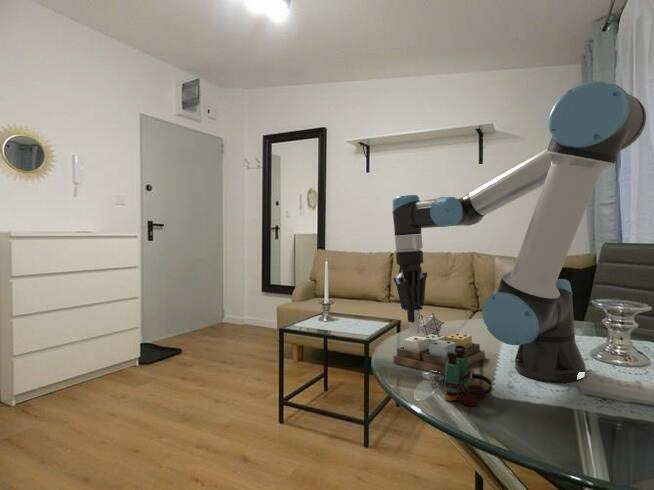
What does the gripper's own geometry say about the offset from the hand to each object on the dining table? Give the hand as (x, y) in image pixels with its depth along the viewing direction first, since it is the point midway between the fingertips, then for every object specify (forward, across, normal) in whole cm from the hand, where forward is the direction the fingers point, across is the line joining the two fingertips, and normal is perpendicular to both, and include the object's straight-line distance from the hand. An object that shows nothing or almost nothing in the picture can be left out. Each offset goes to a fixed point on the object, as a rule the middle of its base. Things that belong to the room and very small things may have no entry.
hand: (414, 332), depth 109 cm
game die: (+9, -24, -12) cm, 28 cm away
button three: (+6, -8, 0) cm, 10 cm away
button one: (+5, 0, 0) cm, 5 cm away
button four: (+5, -8, +9) cm, 13 cm away
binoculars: (+8, +14, +24) cm, 29 cm away
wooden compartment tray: (+8, -4, +4) cm, 10 cm away
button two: (+5, 0, +9) cm, 10 cm away
